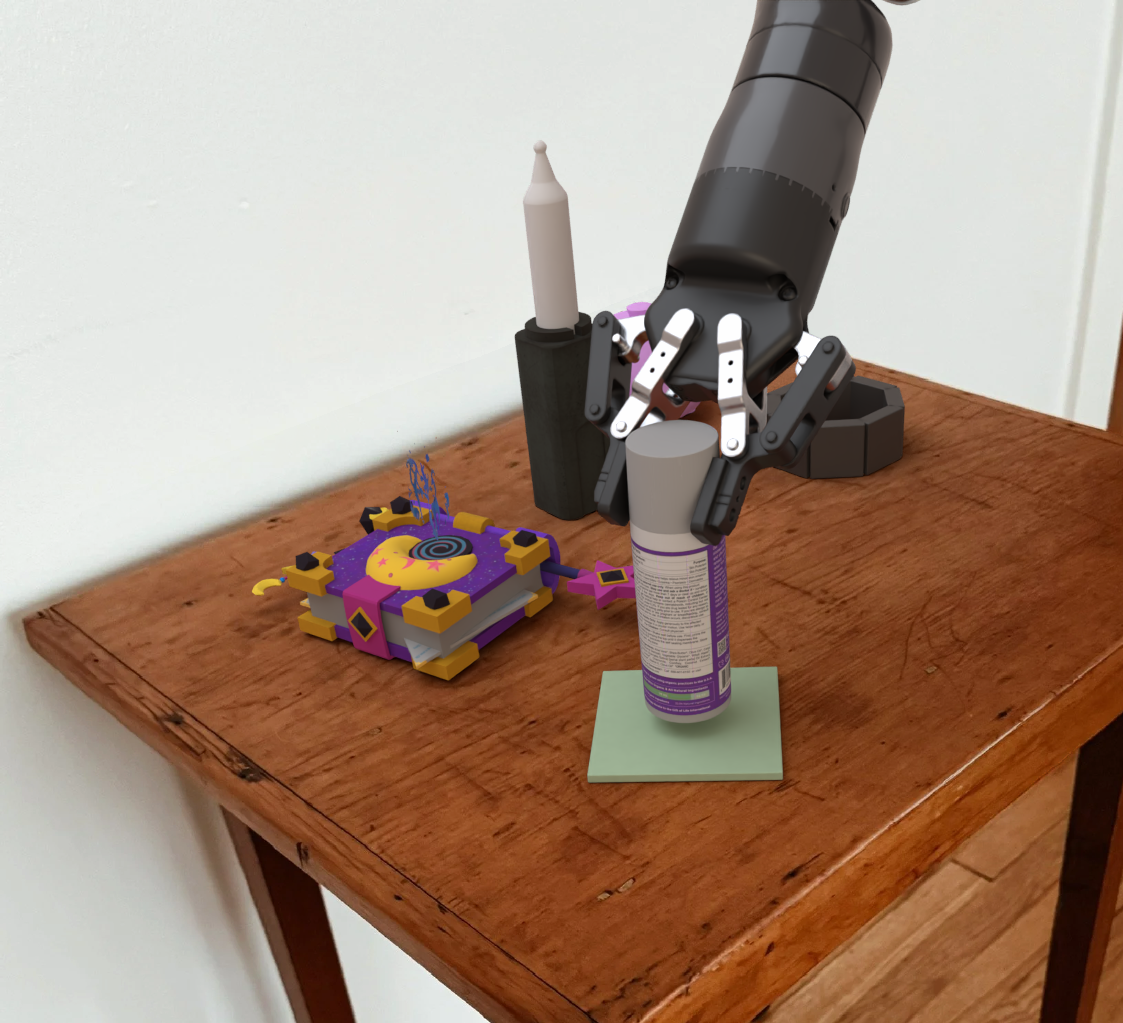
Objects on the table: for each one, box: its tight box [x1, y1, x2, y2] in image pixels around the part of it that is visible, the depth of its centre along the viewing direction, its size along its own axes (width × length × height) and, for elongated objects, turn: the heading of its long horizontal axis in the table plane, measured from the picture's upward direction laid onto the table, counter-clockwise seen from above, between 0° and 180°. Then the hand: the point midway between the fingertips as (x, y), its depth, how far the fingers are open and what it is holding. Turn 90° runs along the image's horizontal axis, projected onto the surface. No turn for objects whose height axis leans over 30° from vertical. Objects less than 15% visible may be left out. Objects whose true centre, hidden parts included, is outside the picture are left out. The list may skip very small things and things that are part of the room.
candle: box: [514, 139, 610, 521], centre depth 89 cm, size 5×5×25 cm
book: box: [251, 430, 636, 681], centre depth 80 cm, size 14×25×12 cm, turn 54°
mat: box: [586, 666, 784, 783], centre depth 71 cm, size 10×10×1 cm
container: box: [625, 419, 731, 723], centre depth 66 cm, size 5×5×15 cm
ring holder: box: [767, 375, 906, 480], centre depth 98 cm, size 10×10×4 cm
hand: (657, 528), depth 63 cm, fingers closed on container, 4 cm apart
